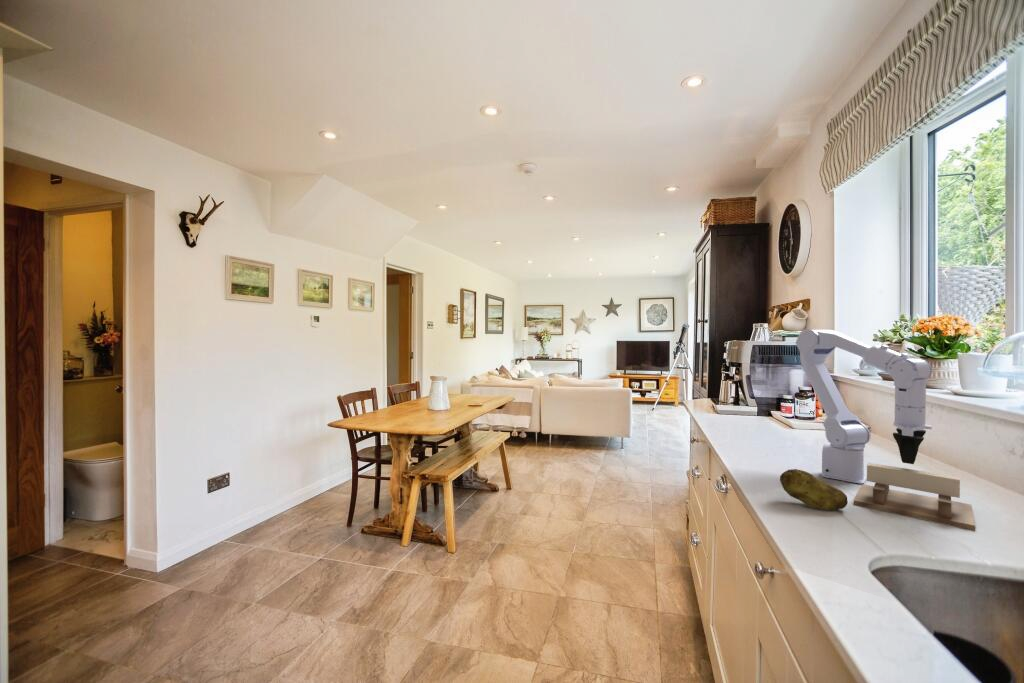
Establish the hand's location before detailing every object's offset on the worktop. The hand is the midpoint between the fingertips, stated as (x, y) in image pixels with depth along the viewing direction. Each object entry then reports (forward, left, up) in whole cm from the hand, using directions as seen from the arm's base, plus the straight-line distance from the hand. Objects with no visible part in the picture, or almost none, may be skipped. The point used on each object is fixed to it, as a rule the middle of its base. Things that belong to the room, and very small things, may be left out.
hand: (909, 460), depth 108 cm
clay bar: (+1, -8, -5) cm, 9 cm away
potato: (-16, -24, -10) cm, 30 cm away
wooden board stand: (+1, -8, -9) cm, 12 cm away
